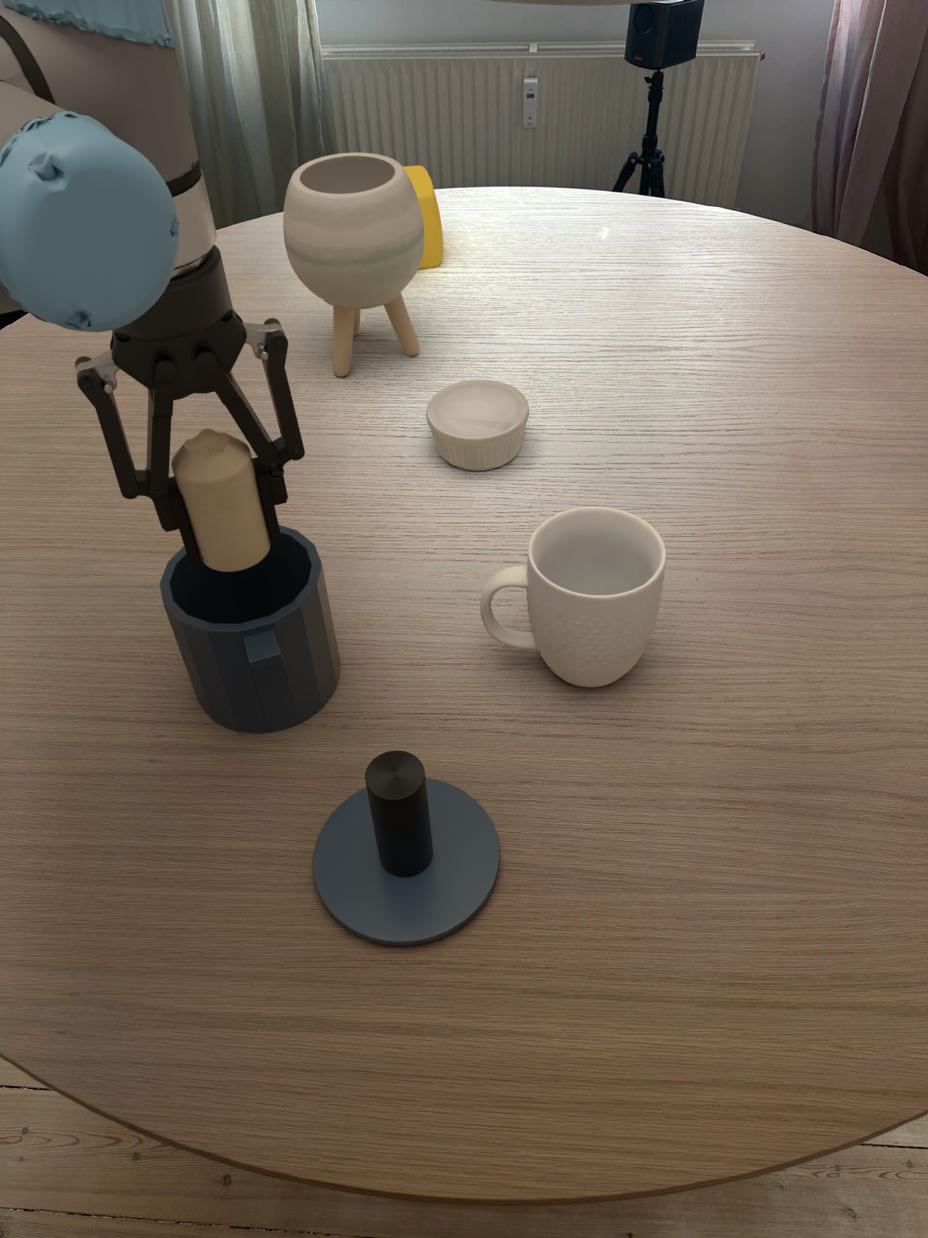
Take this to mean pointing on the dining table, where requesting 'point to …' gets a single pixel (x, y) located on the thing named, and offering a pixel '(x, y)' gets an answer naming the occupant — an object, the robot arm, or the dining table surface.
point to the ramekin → (478, 423)
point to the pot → (256, 636)
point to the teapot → (428, 216)
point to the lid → (405, 855)
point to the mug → (586, 593)
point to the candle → (222, 500)
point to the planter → (355, 241)
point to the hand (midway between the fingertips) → (234, 545)
